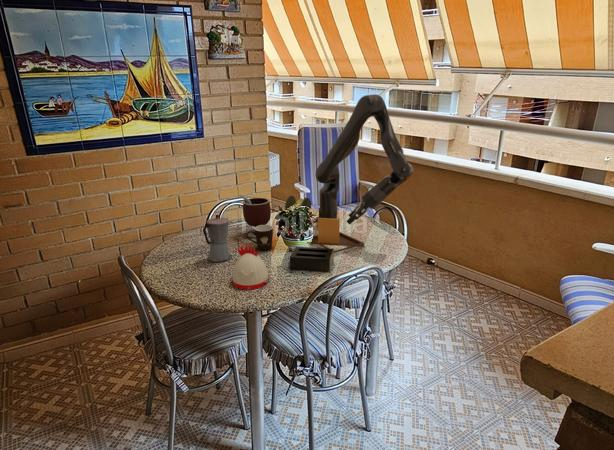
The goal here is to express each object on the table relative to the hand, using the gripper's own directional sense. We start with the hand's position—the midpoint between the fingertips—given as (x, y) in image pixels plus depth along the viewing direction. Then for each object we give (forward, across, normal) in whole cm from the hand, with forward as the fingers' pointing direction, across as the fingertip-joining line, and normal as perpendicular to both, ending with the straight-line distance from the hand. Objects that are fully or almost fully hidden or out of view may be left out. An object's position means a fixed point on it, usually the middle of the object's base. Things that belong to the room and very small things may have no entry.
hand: (349, 219), depth 186 cm
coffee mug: (+37, +10, -19) cm, 42 cm away
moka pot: (+47, +24, -29) cm, 61 cm away
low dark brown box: (+17, +28, 0) cm, 32 cm away
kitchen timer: (+33, +42, -15) cm, 55 cm away
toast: (+15, 0, +2) cm, 15 cm away
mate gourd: (+43, -9, -25) cm, 50 cm away
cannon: (+33, -34, -16) cm, 50 cm away
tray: (+13, 0, +4) cm, 14 cm away
